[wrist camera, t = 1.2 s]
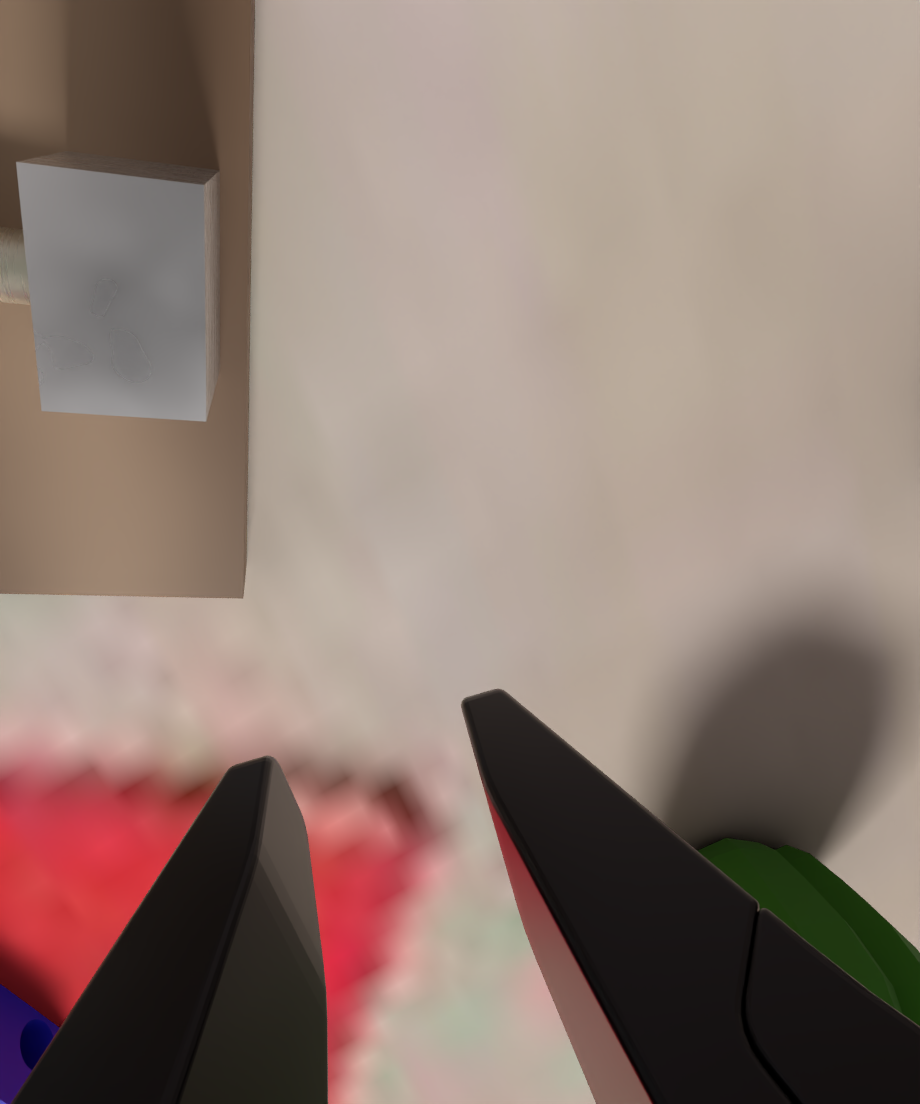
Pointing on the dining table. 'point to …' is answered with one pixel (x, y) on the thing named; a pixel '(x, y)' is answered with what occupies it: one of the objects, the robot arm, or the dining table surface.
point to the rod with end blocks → (118, 283)
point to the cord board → (222, 441)
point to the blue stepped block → (20, 1042)
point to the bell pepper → (826, 917)
